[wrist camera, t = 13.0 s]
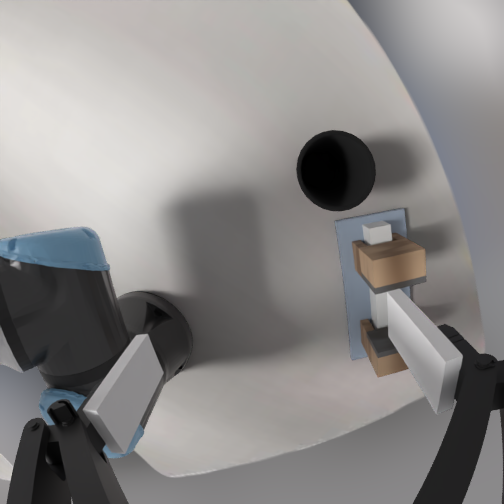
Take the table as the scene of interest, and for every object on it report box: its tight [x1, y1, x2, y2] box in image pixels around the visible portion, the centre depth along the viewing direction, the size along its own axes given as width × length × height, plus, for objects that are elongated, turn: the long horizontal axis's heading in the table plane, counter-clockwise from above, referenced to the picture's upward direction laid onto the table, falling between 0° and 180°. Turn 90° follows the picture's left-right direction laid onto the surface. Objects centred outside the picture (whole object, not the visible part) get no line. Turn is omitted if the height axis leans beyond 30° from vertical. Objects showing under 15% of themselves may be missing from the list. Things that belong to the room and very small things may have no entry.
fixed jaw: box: [352, 233, 426, 295], centre depth 36 cm, size 7×4×9 cm, turn 102°
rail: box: [335, 208, 410, 360], centre depth 41 cm, size 10×22×4 cm, turn 12°
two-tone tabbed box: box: [360, 319, 409, 377], centre depth 39 cm, size 7×4×9 cm, turn 102°
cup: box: [296, 130, 376, 211], centre depth 33 cm, size 8×8×12 cm
